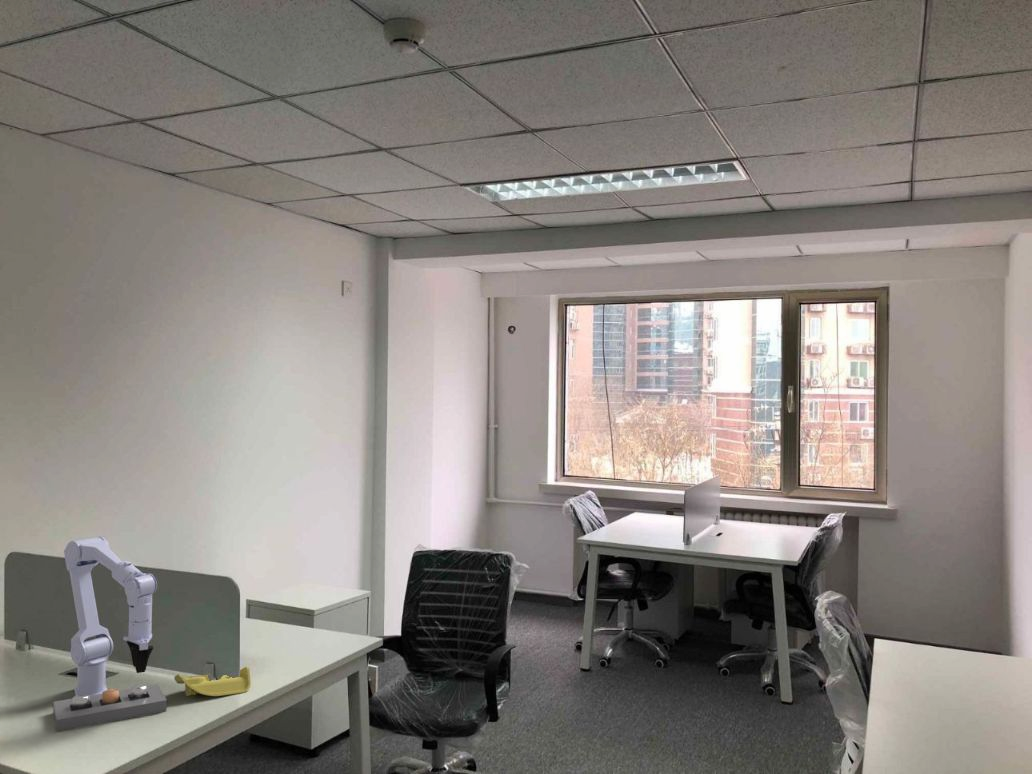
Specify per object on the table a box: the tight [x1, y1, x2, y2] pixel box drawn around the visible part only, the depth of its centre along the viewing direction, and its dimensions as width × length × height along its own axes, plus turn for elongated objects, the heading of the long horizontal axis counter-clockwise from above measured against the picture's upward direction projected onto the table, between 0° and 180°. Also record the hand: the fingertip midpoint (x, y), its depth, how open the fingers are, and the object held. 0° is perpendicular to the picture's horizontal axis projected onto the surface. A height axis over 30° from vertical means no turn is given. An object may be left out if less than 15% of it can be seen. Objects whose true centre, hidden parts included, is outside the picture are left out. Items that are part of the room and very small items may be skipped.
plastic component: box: [173, 666, 252, 697], centre depth 232 cm, size 20×7×10 cm
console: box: [52, 683, 168, 732], centre depth 216 cm, size 14×26×3 cm, turn 123°
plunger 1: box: [72, 694, 90, 709], centre depth 212 cm, size 4×4×2 cm
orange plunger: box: [102, 688, 120, 703], centre depth 216 cm, size 4×4×2 cm
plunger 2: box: [130, 683, 148, 698], centre depth 220 cm, size 4×4×2 cm
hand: (139, 669), depth 220 cm, fingers open, 5 cm apart
